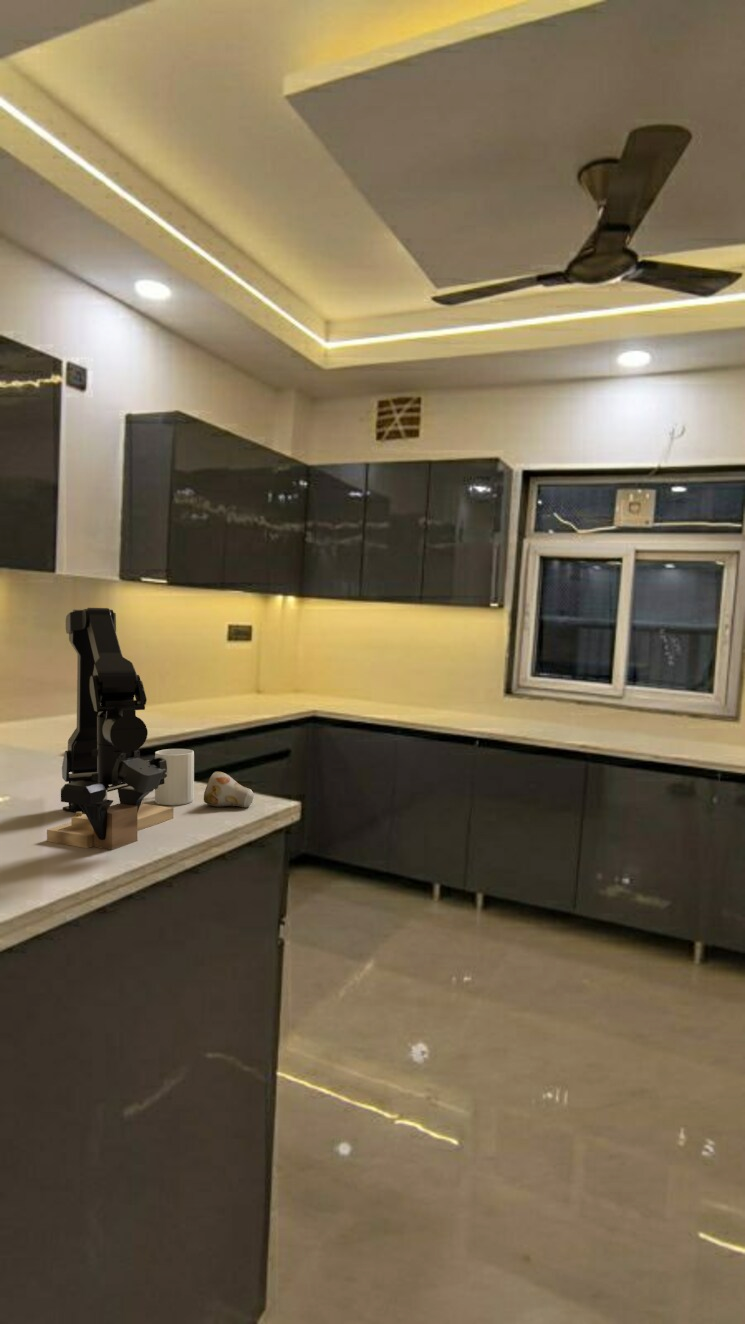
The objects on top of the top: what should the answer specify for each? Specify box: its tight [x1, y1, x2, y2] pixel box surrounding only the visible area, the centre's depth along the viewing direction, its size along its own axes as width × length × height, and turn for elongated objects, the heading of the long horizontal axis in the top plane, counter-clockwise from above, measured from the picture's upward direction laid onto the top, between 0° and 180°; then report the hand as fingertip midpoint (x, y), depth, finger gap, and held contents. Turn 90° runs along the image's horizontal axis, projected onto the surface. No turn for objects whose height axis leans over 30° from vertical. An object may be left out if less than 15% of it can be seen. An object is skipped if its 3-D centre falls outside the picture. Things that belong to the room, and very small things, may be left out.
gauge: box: [70, 802, 138, 851], centre depth 127 cm, size 11×6×6 cm, turn 66°
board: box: [46, 802, 174, 849], centre depth 135 cm, size 9×22×2 cm, turn 156°
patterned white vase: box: [203, 771, 255, 808], centre depth 154 cm, size 8×10×10 cm
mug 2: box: [154, 748, 195, 806], centre depth 159 cm, size 12×8×10 cm, turn 12°
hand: (115, 834), depth 126 cm, fingers closed on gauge, 6 cm apart
